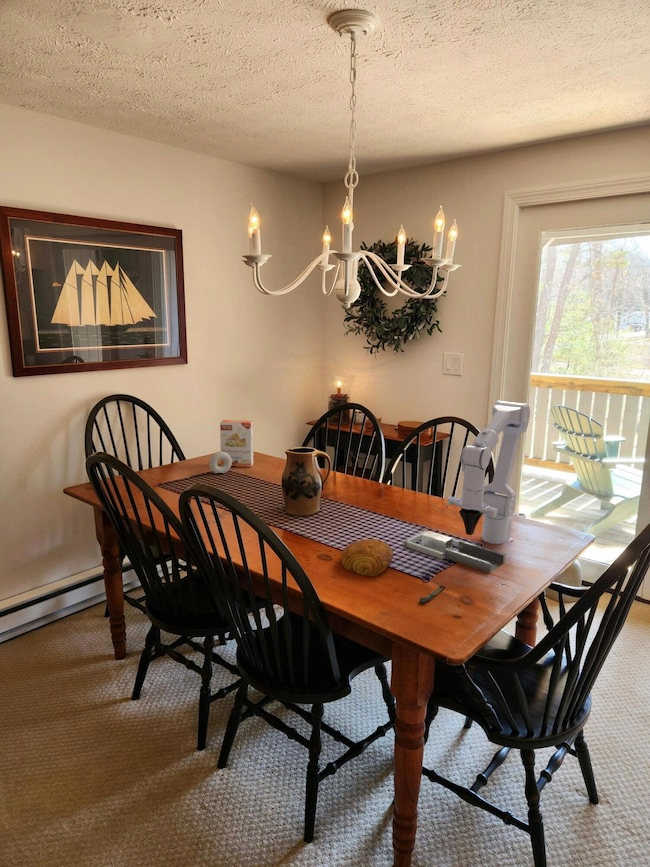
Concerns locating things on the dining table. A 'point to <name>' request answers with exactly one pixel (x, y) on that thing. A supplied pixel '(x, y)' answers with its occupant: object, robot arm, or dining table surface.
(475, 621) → the dining table surface
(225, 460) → the donut
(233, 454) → the cracker box
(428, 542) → the beige cube
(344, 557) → the croissant
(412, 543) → the tray
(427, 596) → the tactical tomahawk
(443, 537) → the cream cube
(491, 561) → the rail
